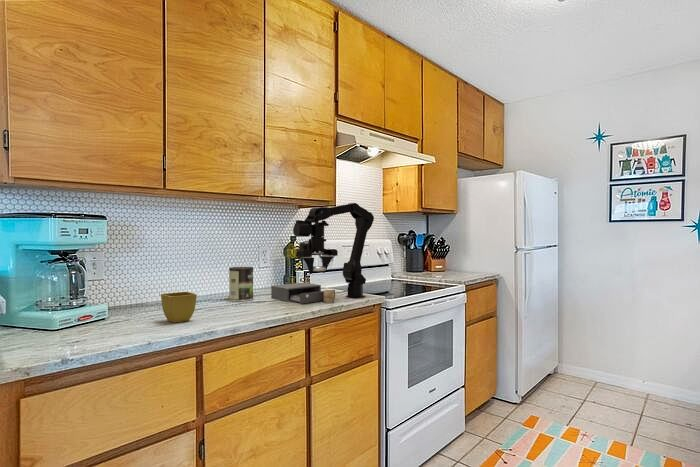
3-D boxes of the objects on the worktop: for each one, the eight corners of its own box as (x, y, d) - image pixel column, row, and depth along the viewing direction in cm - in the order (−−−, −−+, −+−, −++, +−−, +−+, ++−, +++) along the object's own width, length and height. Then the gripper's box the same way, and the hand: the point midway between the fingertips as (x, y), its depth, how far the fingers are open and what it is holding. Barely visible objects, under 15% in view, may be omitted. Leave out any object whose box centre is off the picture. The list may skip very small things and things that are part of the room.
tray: (317, 295, 183) (317, 287, 183) (335, 298, 173) (335, 290, 173) (284, 299, 171) (284, 290, 171) (301, 303, 161) (301, 294, 161)
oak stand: (329, 301, 170) (329, 289, 170) (336, 302, 167) (336, 291, 167) (321, 302, 167) (321, 290, 167) (328, 303, 164) (328, 292, 164)
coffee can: (256, 297, 179) (256, 266, 179) (249, 301, 169) (249, 268, 169) (233, 297, 179) (233, 266, 179) (225, 301, 169) (225, 268, 169)
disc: (318, 269, 175) (318, 265, 175) (328, 270, 170) (328, 266, 170) (306, 270, 170) (306, 266, 170) (316, 271, 165) (316, 267, 165)
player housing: (304, 293, 190) (304, 282, 190) (322, 297, 180) (322, 285, 180) (271, 298, 178) (271, 285, 178) (288, 302, 168) (288, 289, 168)
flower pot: (186, 317, 138) (186, 291, 138) (197, 320, 132) (197, 293, 132) (160, 320, 132) (160, 293, 132) (170, 325, 126) (170, 296, 126)
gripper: (322, 236, 182) (322, 270, 182) (288, 236, 169) (288, 273, 169) (338, 236, 174) (338, 272, 174) (304, 236, 161) (304, 275, 161)
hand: (317, 273), depth 170 cm, fingers closed on disc, 7 cm apart
